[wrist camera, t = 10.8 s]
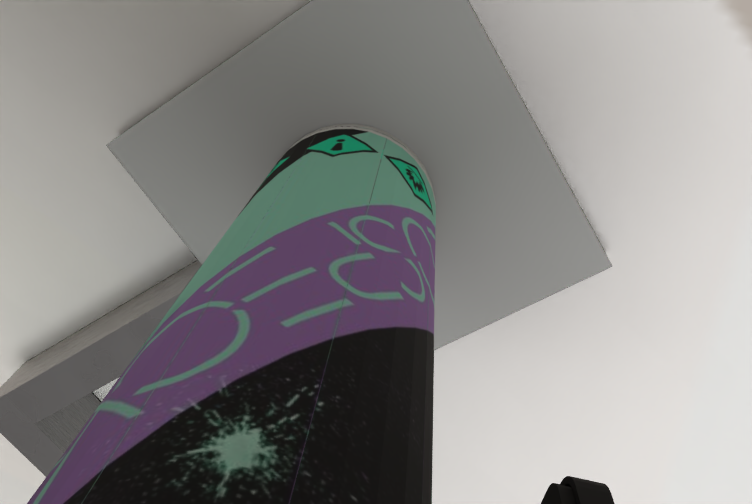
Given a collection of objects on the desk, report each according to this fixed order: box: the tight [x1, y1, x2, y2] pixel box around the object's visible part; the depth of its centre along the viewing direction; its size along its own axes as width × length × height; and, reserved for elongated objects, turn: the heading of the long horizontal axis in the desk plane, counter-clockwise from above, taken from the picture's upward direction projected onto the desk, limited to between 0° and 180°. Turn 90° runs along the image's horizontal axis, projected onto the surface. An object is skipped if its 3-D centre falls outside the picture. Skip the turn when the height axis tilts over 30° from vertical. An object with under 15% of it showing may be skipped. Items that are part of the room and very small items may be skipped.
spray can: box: [27, 124, 436, 504], centre depth 12 cm, size 6×6×20 cm
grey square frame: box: [0, 260, 202, 477], centre depth 25 cm, size 10×10×3 cm
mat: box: [106, 0, 612, 350], centre depth 22 cm, size 12×12×1 cm
